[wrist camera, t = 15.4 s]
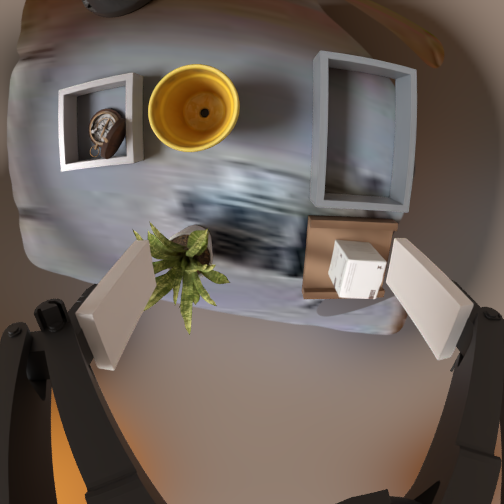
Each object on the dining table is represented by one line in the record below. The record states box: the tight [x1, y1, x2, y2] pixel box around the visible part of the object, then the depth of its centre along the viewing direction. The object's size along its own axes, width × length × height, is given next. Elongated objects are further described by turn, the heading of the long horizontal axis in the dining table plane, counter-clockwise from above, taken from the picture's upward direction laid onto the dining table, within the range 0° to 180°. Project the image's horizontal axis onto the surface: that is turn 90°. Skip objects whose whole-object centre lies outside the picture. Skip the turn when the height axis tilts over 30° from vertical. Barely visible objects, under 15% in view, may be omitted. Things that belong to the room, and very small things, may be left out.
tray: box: [302, 215, 398, 299], centre depth 45 cm, size 13×14×2 cm
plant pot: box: [148, 64, 240, 152], centre depth 33 cm, size 10×10×10 cm
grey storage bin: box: [309, 51, 417, 212], centre depth 36 cm, size 21×14×5 cm, turn 0°
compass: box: [89, 109, 126, 159], centre depth 35 cm, size 8×8×7 cm
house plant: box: [132, 223, 231, 334], centre depth 37 cm, size 14×14×16 cm
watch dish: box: [59, 72, 144, 171], centre depth 36 cm, size 13×13×4 cm
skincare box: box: [328, 240, 387, 299], centre depth 42 cm, size 6×6×7 cm
